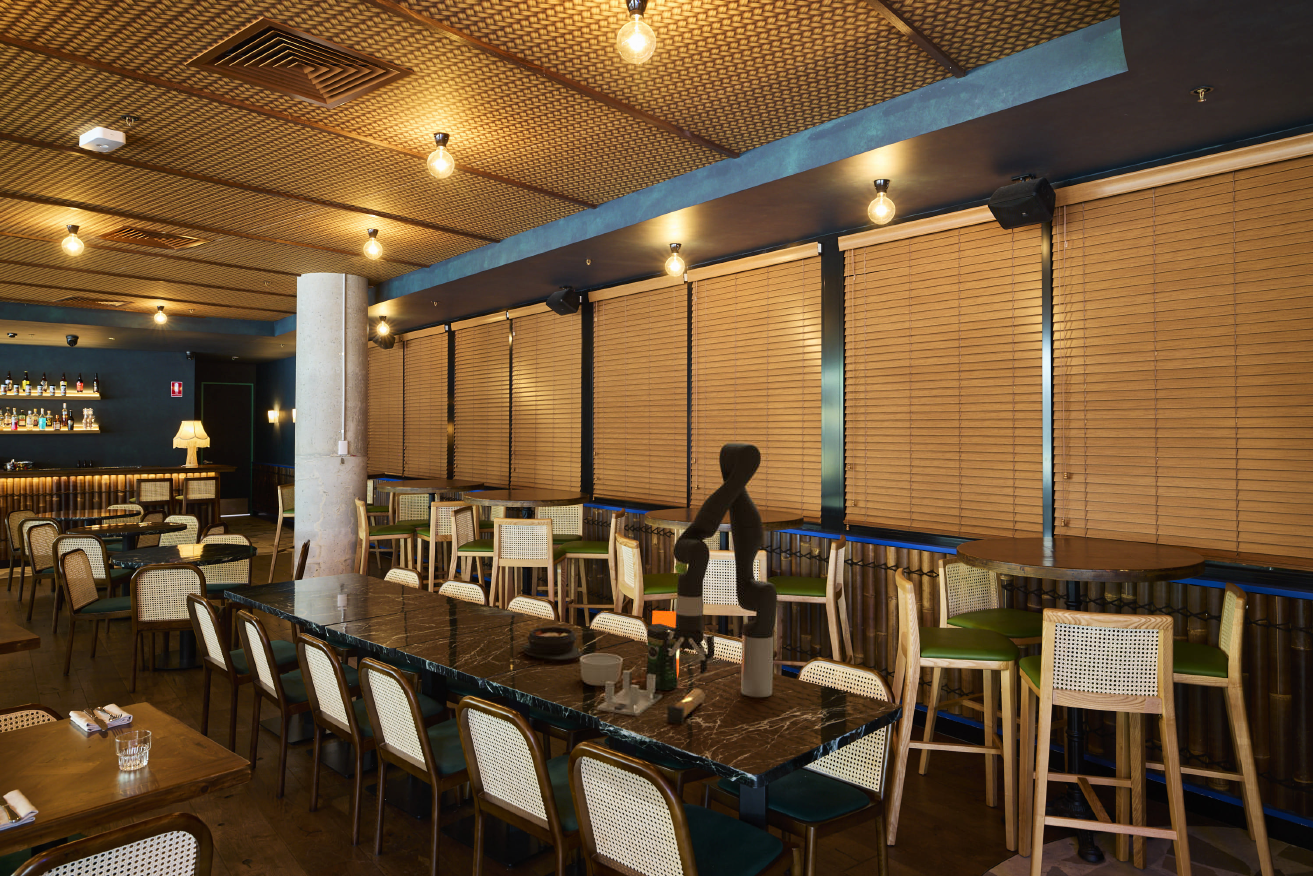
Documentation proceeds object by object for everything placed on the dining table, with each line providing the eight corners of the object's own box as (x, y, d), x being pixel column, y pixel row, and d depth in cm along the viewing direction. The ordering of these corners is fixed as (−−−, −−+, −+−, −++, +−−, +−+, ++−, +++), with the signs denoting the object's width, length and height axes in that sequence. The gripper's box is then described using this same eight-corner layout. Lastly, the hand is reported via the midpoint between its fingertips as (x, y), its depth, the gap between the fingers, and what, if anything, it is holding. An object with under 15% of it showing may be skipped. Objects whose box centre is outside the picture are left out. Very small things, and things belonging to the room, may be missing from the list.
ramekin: (627, 677, 248) (628, 655, 248) (614, 689, 236) (614, 666, 236) (588, 673, 252) (588, 651, 252) (572, 684, 239) (573, 661, 239)
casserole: (508, 653, 274) (509, 628, 275) (552, 644, 287) (552, 621, 287) (550, 668, 256) (551, 642, 256) (595, 659, 269) (596, 634, 269)
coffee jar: (681, 688, 238) (683, 626, 238) (660, 692, 233) (662, 629, 233) (662, 680, 246) (663, 620, 246) (641, 684, 241) (642, 623, 241)
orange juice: (678, 677, 249) (679, 614, 249) (650, 676, 249) (651, 613, 250) (678, 670, 257) (680, 609, 257) (651, 669, 257) (653, 608, 258)
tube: (690, 701, 225) (691, 687, 225) (704, 703, 224) (704, 689, 224) (667, 722, 208) (667, 706, 208) (681, 724, 206) (682, 708, 206)
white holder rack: (624, 691, 233) (624, 667, 233) (661, 697, 229) (662, 673, 229) (597, 709, 216) (597, 684, 217) (637, 716, 212) (637, 689, 212)
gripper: (718, 612, 217) (716, 671, 217) (670, 607, 223) (668, 664, 222) (710, 616, 211) (708, 678, 210) (660, 611, 216) (658, 671, 215)
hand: (687, 671), depth 216 cm, fingers open, 8 cm apart
